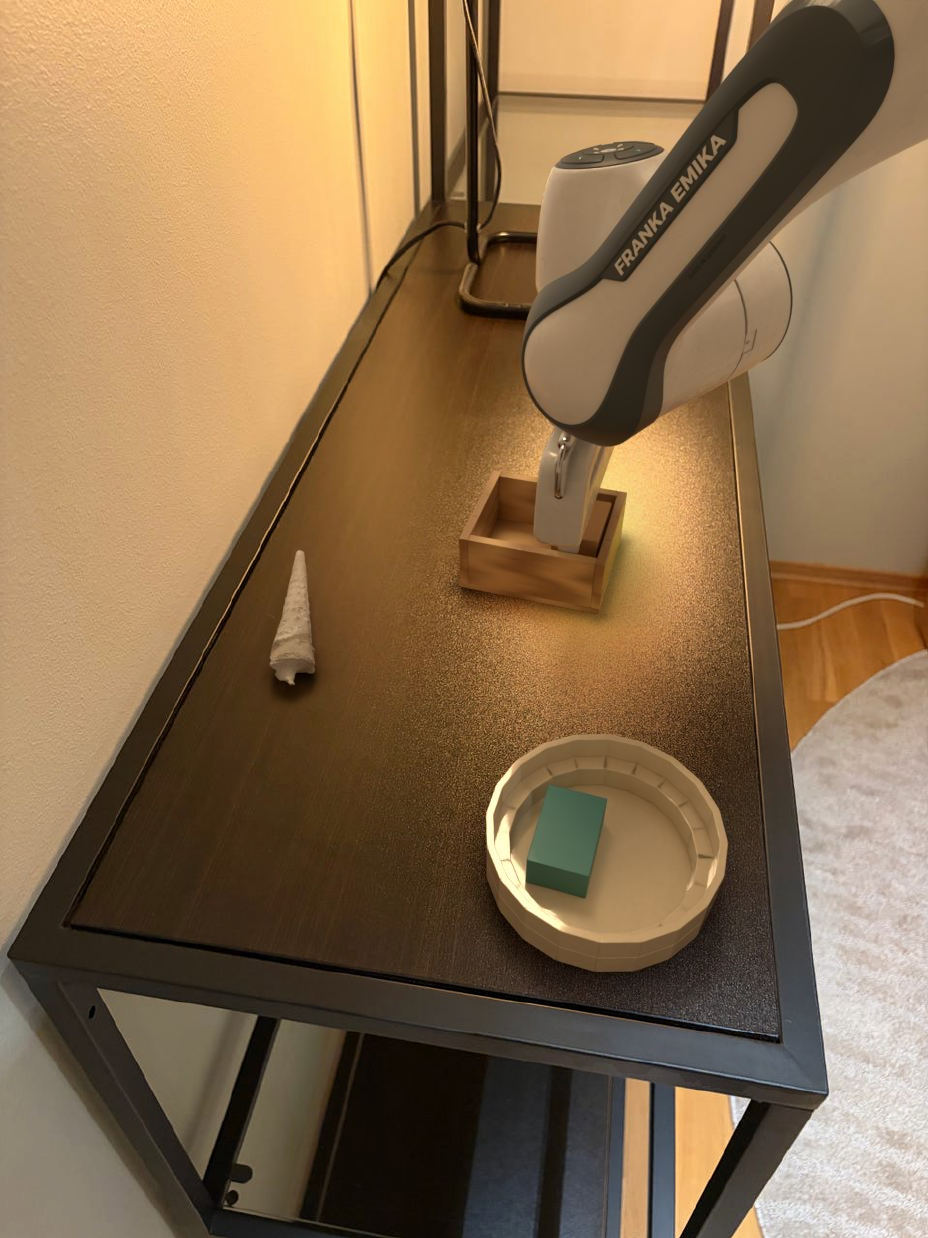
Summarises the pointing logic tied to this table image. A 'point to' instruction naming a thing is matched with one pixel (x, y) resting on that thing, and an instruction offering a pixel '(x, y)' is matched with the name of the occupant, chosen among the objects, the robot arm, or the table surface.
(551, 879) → the teal rectangular block
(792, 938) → the table surface
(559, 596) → the holder
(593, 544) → the tan rectangular block
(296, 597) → the seashell
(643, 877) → the bowl
